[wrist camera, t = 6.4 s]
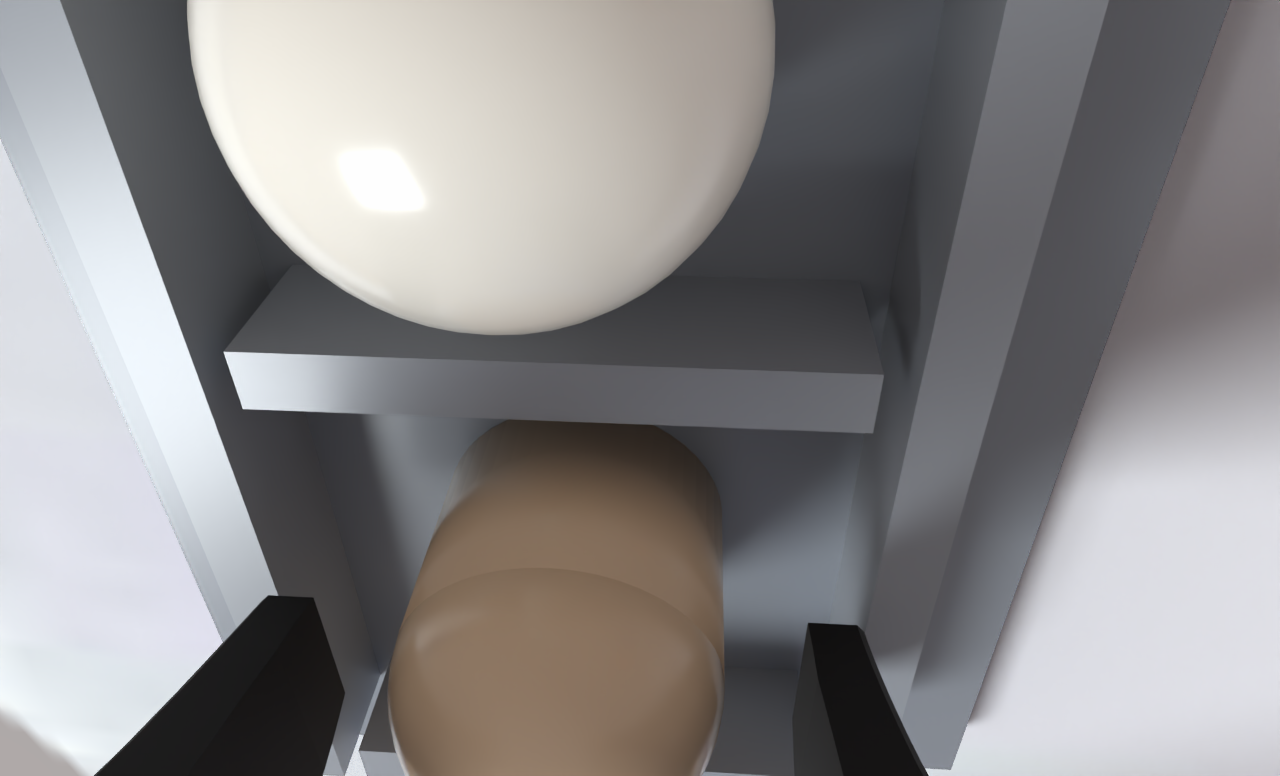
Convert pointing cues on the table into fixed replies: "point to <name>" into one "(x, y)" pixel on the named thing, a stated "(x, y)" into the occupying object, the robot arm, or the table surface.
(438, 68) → the seated egg
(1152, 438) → the table surface
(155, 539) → the table surface
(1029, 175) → the carton
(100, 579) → the table surface
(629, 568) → the loose egg
